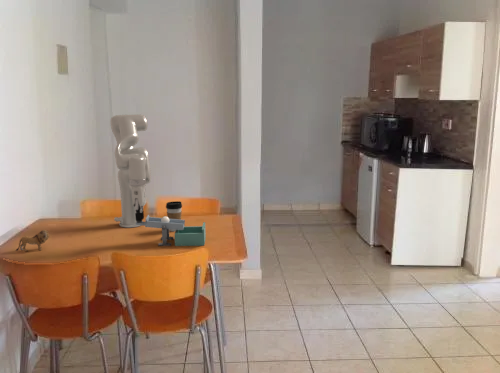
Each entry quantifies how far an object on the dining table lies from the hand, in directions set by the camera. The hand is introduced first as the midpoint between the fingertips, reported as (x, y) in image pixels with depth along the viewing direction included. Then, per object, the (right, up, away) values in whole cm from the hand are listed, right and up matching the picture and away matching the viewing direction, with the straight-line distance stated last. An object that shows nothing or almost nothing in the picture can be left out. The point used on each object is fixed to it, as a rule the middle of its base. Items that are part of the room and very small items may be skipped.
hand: (139, 219), depth 229 cm
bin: (+24, -11, +3) cm, 27 cm away
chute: (+10, -3, +1) cm, 10 cm away
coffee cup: (+13, -7, +23) cm, 27 cm away
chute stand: (+12, -11, +3) cm, 17 cm away
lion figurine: (-48, -14, -7) cm, 50 cm away
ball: (+12, -1, +1) cm, 12 cm away
